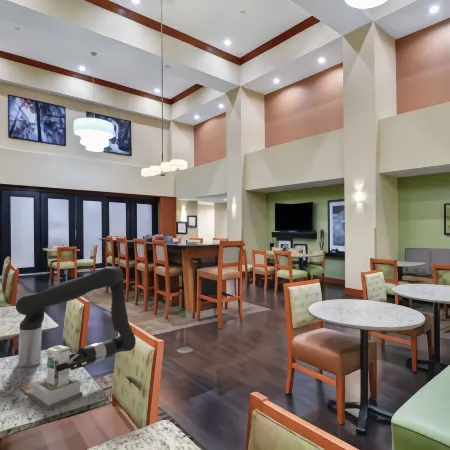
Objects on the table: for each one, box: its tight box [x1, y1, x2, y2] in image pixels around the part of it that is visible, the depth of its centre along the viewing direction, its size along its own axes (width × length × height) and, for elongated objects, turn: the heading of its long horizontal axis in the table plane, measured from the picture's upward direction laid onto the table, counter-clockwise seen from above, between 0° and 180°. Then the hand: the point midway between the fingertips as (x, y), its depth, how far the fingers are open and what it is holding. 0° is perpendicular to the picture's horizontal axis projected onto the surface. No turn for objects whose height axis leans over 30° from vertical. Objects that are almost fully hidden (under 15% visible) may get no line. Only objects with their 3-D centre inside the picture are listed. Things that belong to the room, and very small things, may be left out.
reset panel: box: [27, 376, 84, 412], centre depth 127 cm, size 16×13×6 cm
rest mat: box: [18, 380, 42, 396], centre depth 134 cm, size 8×8×1 cm
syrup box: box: [46, 344, 70, 389], centre depth 127 cm, size 6×6×14 cm
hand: (51, 366), depth 125 cm, fingers closed on syrup box, 6 cm apart
